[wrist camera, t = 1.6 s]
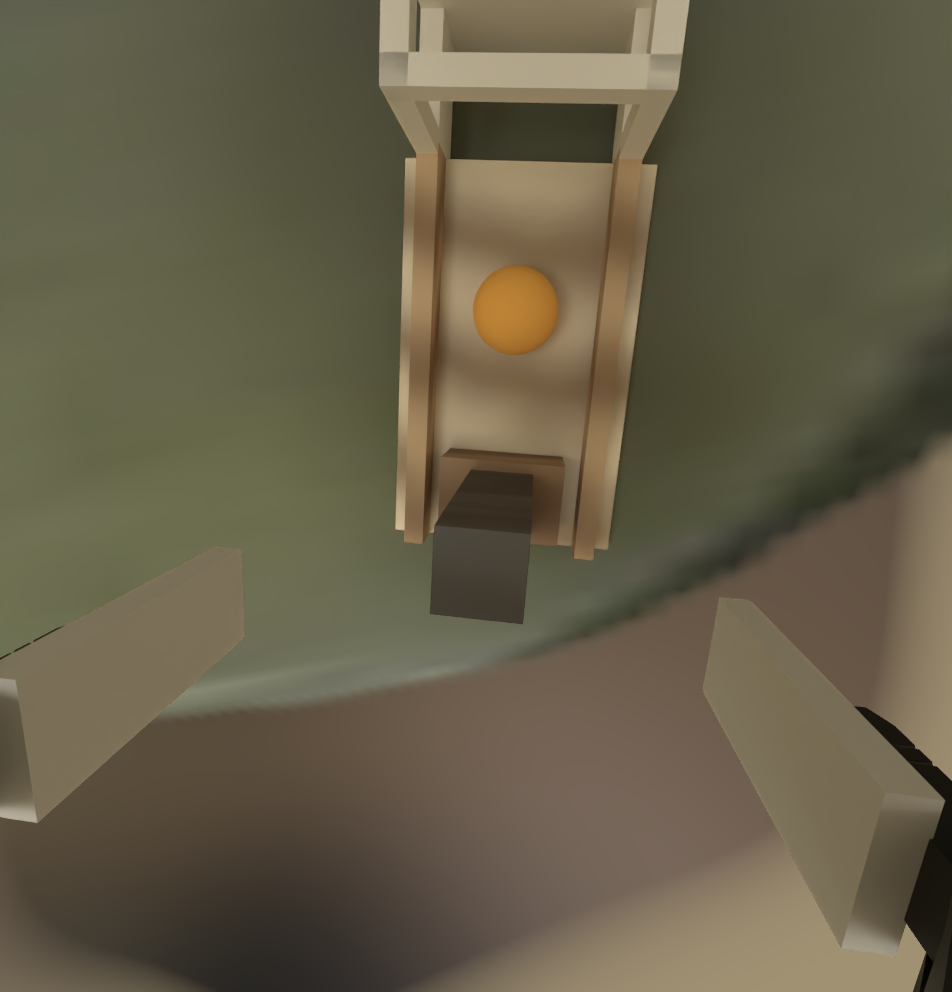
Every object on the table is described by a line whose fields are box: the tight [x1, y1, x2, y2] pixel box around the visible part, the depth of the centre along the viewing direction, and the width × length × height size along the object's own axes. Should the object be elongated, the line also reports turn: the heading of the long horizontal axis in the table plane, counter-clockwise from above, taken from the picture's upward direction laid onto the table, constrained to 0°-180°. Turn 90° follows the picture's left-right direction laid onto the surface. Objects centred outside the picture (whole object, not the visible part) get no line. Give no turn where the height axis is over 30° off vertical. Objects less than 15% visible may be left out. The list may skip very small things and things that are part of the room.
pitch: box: [396, 143, 657, 560], centre depth 27 cm, size 19×12×3 cm, turn 176°
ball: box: [473, 265, 558, 355], centre depth 25 cm, size 4×4×4 cm
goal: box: [379, 0, 690, 164], centre depth 21 cm, size 6×10×9 cm, turn 86°
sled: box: [430, 448, 565, 624], centre depth 22 cm, size 4×6×12 cm, turn 86°
